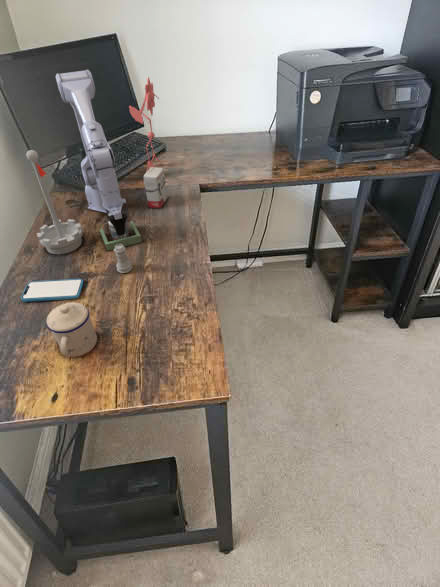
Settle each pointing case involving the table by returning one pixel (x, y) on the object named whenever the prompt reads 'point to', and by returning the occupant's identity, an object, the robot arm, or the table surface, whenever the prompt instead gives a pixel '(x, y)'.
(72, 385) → the table surface
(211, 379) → the table surface
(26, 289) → the smartphone
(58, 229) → the flag stand
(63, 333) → the teacup with lid
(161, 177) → the ink box
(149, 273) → the table surface
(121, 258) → the rook chess piece
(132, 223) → the holder
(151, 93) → the figurine
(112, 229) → the pill bottle
